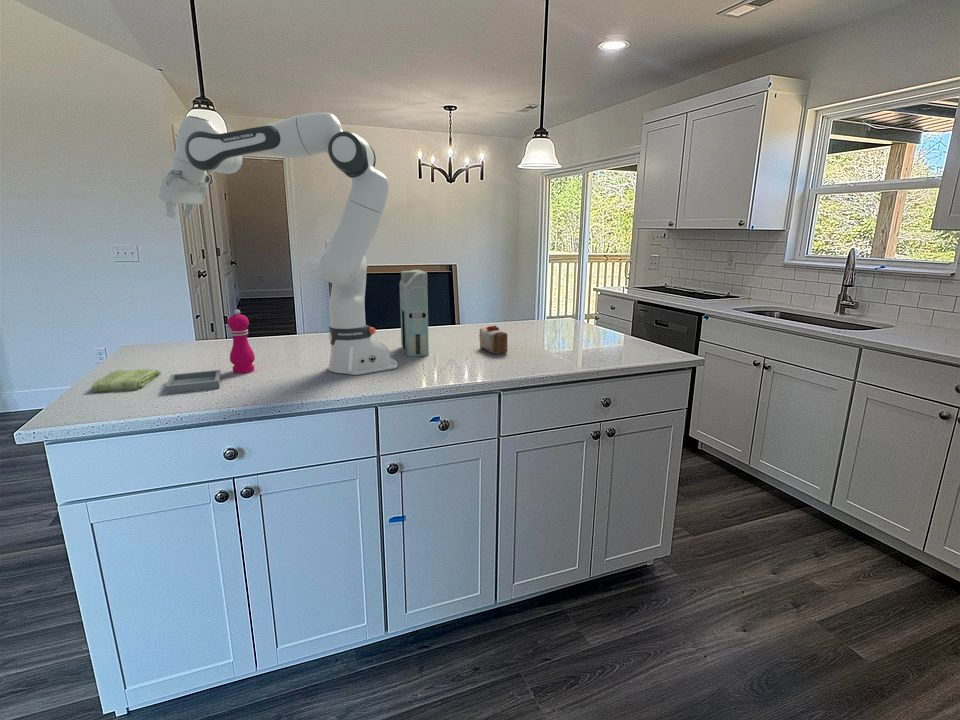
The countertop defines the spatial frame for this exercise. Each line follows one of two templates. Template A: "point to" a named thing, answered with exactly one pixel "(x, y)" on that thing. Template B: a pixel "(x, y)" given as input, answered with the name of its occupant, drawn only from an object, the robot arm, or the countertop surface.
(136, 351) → the countertop surface
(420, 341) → the device
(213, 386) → the slate tray
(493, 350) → the food item
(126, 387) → the washcloth
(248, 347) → the pepper mill
